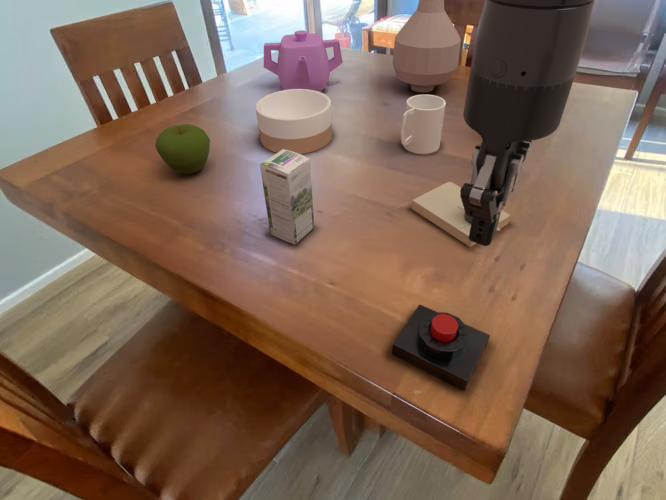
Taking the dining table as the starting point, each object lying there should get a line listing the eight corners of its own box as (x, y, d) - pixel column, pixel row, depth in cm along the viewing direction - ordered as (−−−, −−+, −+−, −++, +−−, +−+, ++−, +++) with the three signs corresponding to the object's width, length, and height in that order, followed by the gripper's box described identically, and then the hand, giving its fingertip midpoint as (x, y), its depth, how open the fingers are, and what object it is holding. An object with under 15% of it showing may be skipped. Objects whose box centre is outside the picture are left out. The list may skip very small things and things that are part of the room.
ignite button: (459, 329, 55) (462, 320, 54) (450, 347, 53) (452, 338, 52) (436, 318, 56) (438, 310, 55) (426, 335, 54) (427, 327, 53)
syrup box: (290, 218, 80) (281, 147, 70) (316, 229, 77) (310, 156, 67) (269, 235, 76) (257, 162, 66) (296, 246, 74) (287, 173, 64)
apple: (154, 177, 92) (139, 134, 85) (186, 154, 99) (174, 112, 92) (195, 187, 88) (183, 143, 82) (225, 163, 95) (215, 120, 89)
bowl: (245, 144, 101) (239, 110, 96) (287, 116, 112) (284, 84, 107) (307, 161, 95) (304, 126, 89) (345, 129, 106) (344, 96, 100)
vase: (444, 104, 115) (463, -29, 95) (382, 94, 121) (387, -32, 101) (460, 81, 126) (480, -42, 106) (402, 73, 132) (411, -44, 112)
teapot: (303, 71, 137) (299, 18, 127) (349, 83, 128) (348, 27, 118) (259, 91, 126) (251, 35, 116) (306, 105, 117) (301, 46, 107)
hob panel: (515, 228, 75) (518, 218, 74) (477, 252, 71) (479, 242, 70) (448, 189, 85) (449, 180, 83) (411, 208, 81) (412, 199, 79)
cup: (384, 151, 97) (386, 108, 90) (418, 133, 103) (422, 91, 96) (413, 164, 92) (418, 119, 86) (446, 144, 98) (453, 101, 92)
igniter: (486, 345, 57) (493, 326, 55) (464, 391, 52) (470, 372, 50) (417, 314, 62) (420, 295, 59) (391, 354, 57) (393, 335, 54)
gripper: (554, 104, 27) (497, 294, 39) (592, 46, 35) (535, 217, 47) (441, 84, 30) (419, 264, 42) (500, 36, 39) (468, 197, 50)
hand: (480, 239), depth 44 cm, fingers closed
